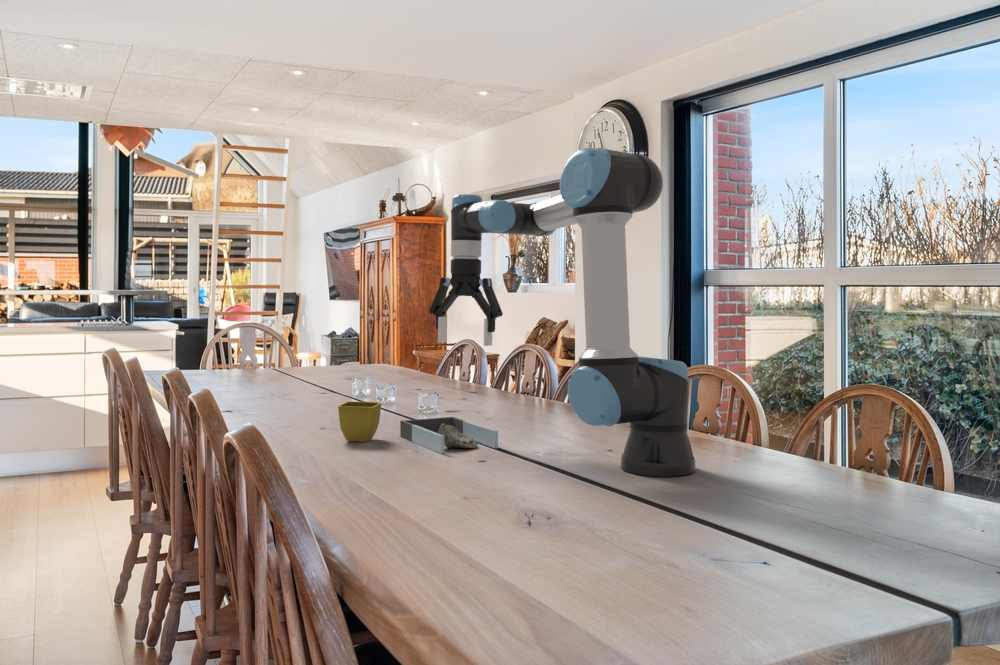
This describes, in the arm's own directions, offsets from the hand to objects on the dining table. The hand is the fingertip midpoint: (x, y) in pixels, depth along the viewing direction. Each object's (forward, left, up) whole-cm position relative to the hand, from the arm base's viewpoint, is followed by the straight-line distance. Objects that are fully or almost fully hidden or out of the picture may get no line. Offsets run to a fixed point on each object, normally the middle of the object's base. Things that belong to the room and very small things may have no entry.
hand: (464, 344), depth 204 cm
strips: (-7, +6, -23) cm, 25 cm away
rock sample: (-10, +6, -24) cm, 27 cm away
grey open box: (+5, +6, -23) cm, 25 cm away
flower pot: (+8, +24, -24) cm, 35 cm away
